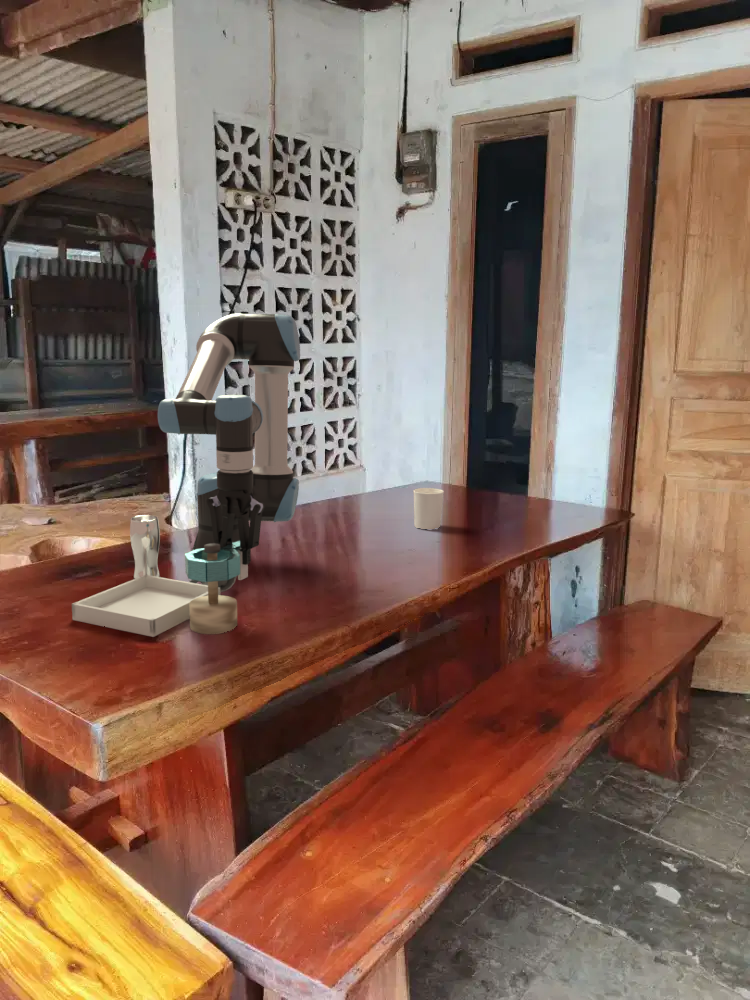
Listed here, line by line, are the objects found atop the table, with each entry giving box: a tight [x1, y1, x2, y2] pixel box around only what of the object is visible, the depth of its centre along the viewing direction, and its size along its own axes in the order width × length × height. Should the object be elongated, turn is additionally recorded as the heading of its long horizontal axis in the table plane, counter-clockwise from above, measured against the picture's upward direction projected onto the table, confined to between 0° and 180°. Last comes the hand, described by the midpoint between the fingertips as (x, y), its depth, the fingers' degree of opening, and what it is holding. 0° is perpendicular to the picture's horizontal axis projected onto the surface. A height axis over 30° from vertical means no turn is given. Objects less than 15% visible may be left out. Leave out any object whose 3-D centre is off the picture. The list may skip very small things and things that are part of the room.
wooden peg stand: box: [189, 543, 238, 635], centre depth 158 cm, size 10×10×17 cm
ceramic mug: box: [188, 576, 237, 593], centre depth 182 cm, size 11×8×8 cm
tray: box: [71, 575, 221, 638], centre depth 167 cm, size 23×21×4 cm
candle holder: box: [412, 487, 445, 530], centre depth 247 cm, size 10×10×12 cm
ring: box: [184, 540, 241, 582], centre depth 160 cm, size 17×10×4 cm, turn 156°
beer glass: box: [129, 514, 161, 579], centre depth 189 cm, size 7×7×15 cm
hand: (236, 576), depth 166 cm, fingers closed on ring, 2 cm apart
